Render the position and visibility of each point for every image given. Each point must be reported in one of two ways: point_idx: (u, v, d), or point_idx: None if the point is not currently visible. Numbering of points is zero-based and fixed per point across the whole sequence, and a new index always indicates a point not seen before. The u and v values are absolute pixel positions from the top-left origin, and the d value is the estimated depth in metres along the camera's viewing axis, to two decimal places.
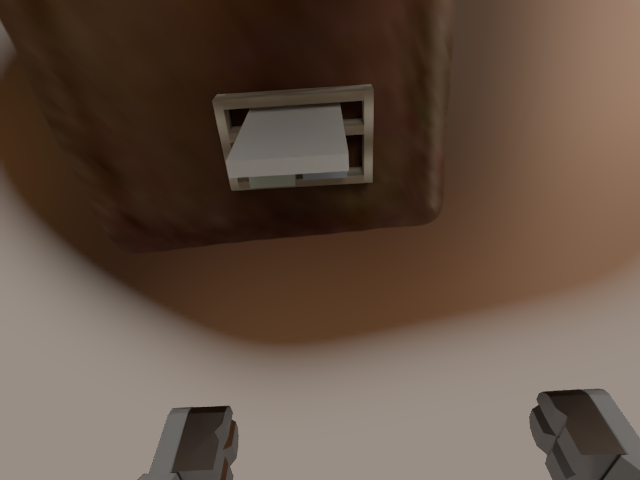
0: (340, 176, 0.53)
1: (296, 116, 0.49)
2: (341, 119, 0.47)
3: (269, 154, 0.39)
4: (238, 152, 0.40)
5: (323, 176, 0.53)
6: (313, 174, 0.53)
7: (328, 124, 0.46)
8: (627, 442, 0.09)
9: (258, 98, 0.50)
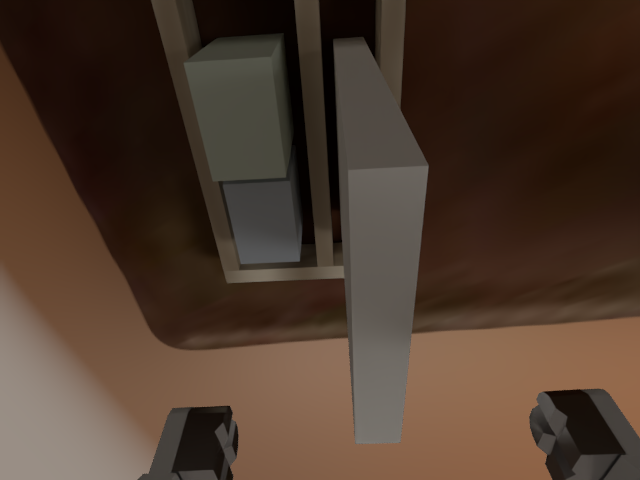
0: (241, 252, 0.26)
1: None
2: None
3: None
4: None
5: (237, 224, 0.25)
6: (239, 205, 0.24)
7: None
8: (627, 442, 0.09)
9: (399, 76, 0.22)
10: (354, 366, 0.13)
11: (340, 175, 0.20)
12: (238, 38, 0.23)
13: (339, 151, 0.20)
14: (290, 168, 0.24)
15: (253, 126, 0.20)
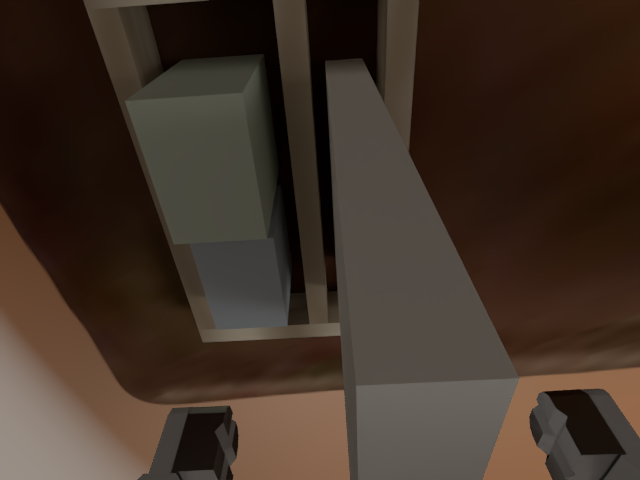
0: (216, 317, 0.22)
1: None
2: None
3: None
4: None
5: (209, 286, 0.20)
6: (211, 265, 0.19)
7: None
8: (627, 442, 0.09)
9: (408, 109, 0.18)
10: None
11: None
12: (207, 61, 0.18)
13: (334, 210, 0.15)
14: (274, 218, 0.20)
15: (222, 179, 0.15)
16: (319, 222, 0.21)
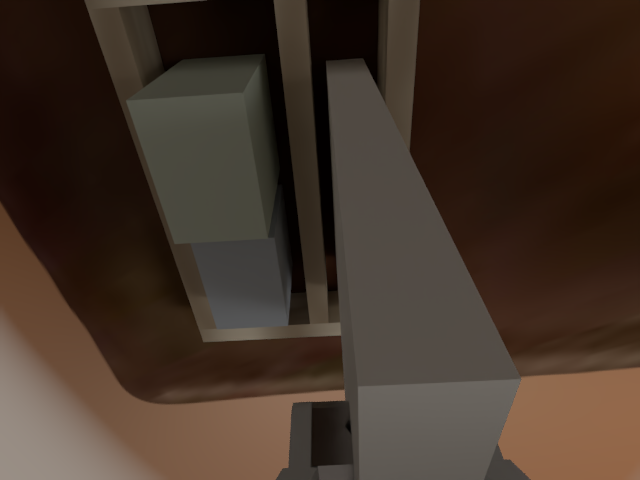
0: (217, 317, 0.22)
1: None
2: None
3: None
4: None
5: (210, 286, 0.20)
6: (212, 265, 0.19)
7: None
8: None
9: (409, 109, 0.18)
10: None
11: None
12: (208, 61, 0.18)
13: (335, 211, 0.15)
14: (275, 218, 0.20)
15: (223, 179, 0.15)
16: (320, 222, 0.21)
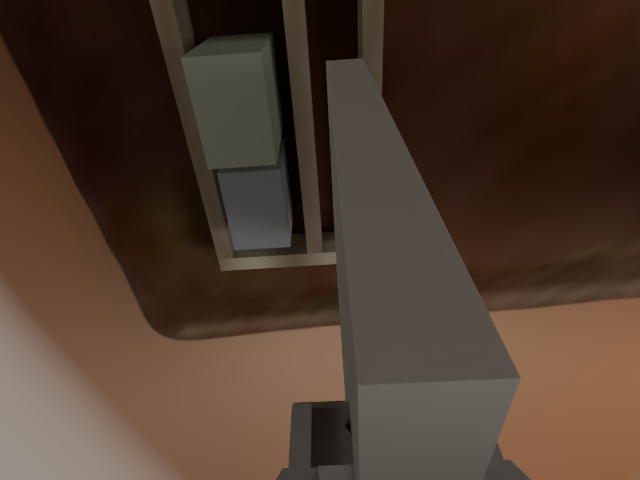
0: (235, 239, 0.28)
1: None
2: None
3: None
4: None
5: (231, 211, 0.26)
6: (232, 193, 0.26)
7: None
8: None
9: (380, 71, 0.24)
10: None
11: None
12: (230, 37, 0.24)
13: (335, 211, 0.15)
14: (280, 158, 0.26)
15: (245, 117, 0.21)
16: (315, 163, 0.27)
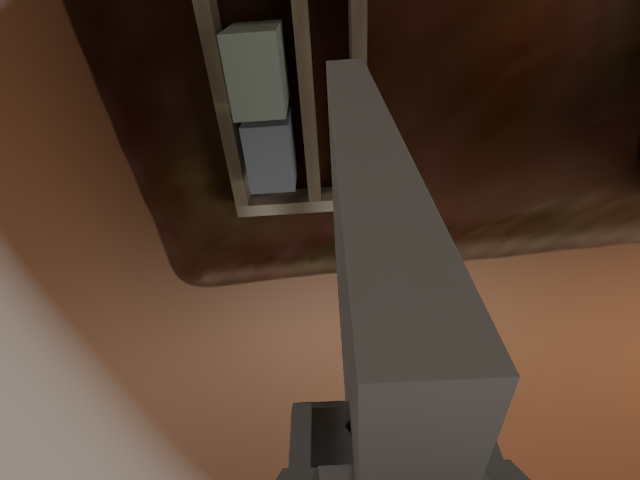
0: (251, 184, 0.35)
1: None
2: None
3: None
4: None
5: (248, 160, 0.33)
6: (250, 145, 0.33)
7: None
8: None
9: (365, 48, 0.31)
10: None
11: None
12: (249, 22, 0.32)
13: (335, 210, 0.15)
14: (288, 118, 0.33)
15: (263, 80, 0.28)
16: (315, 124, 0.34)
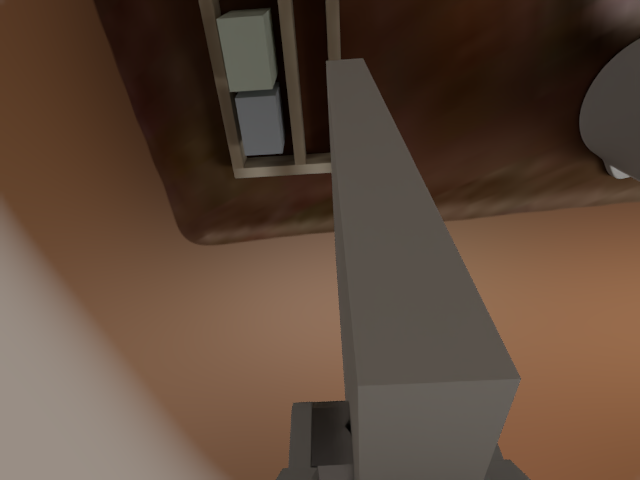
0: (245, 147, 0.42)
1: None
2: None
3: None
4: None
5: (243, 125, 0.40)
6: (244, 112, 0.40)
7: None
8: None
9: (338, 32, 0.38)
10: None
11: None
12: (243, 10, 0.38)
13: (335, 211, 0.15)
14: (275, 91, 0.40)
15: (253, 56, 0.35)
16: (298, 96, 0.41)
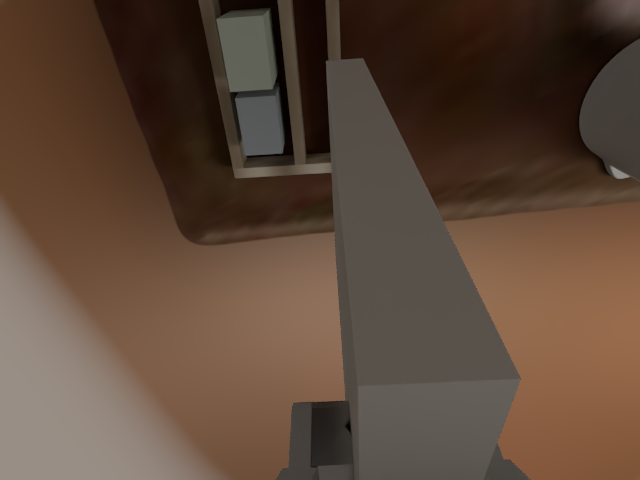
0: (245, 147, 0.42)
1: None
2: None
3: None
4: None
5: (243, 125, 0.40)
6: (244, 112, 0.40)
7: None
8: None
9: (338, 32, 0.38)
10: None
11: None
12: (243, 10, 0.38)
13: (335, 211, 0.15)
14: (275, 91, 0.40)
15: (253, 56, 0.35)
16: (298, 96, 0.41)
